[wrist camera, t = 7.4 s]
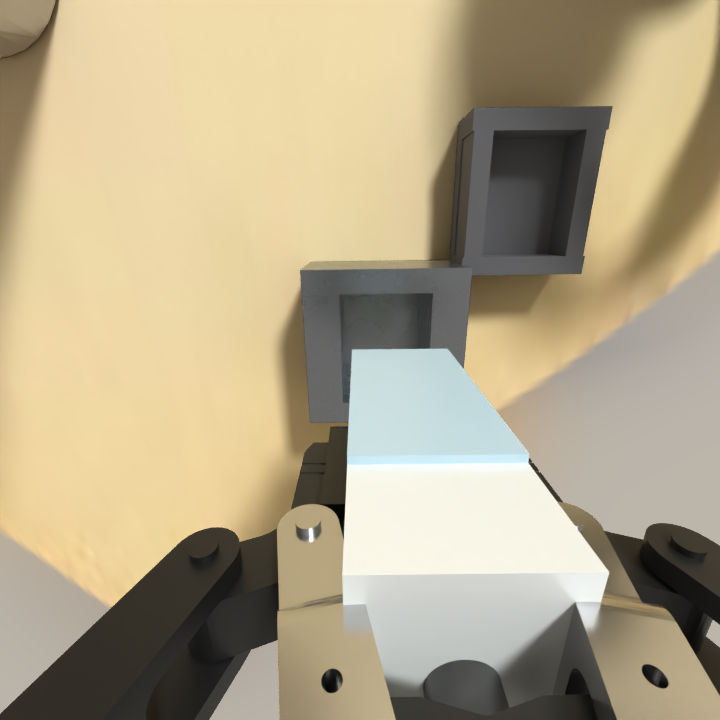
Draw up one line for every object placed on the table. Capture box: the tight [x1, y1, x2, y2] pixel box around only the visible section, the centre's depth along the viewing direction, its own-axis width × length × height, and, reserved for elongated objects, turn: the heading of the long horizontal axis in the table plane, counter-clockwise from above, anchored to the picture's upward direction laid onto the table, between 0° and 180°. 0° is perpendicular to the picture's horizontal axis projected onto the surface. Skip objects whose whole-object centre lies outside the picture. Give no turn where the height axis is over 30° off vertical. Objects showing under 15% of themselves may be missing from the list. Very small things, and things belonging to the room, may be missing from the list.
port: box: [300, 260, 472, 423], centre depth 23 cm, size 9×9×5 cm
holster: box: [449, 106, 612, 275], centre depth 21 cm, size 8×7×3 cm
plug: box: [342, 349, 609, 715], centre depth 9 cm, size 5×4×12 cm
